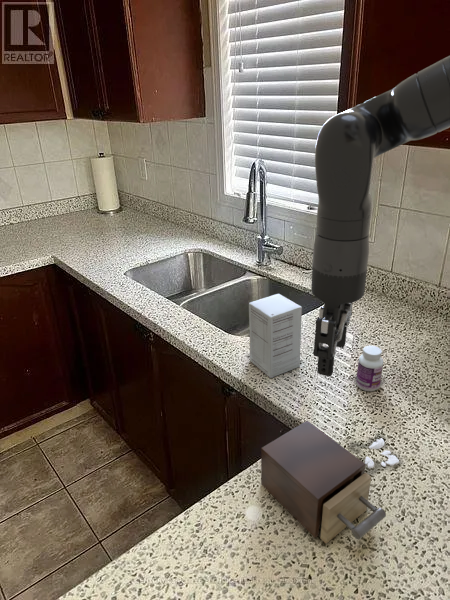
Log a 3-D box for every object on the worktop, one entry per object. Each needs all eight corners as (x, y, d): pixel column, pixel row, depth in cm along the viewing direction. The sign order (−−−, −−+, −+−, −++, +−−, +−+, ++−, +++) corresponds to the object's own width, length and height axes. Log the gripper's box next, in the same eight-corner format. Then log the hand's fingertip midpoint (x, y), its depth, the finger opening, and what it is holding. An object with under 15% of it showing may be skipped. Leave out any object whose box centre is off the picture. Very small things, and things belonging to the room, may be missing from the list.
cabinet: (359, 506, 75) (365, 463, 70) (314, 543, 69) (318, 499, 65) (304, 460, 84) (307, 420, 80) (260, 489, 79) (261, 447, 74)
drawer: (389, 530, 70) (396, 495, 66) (348, 567, 65) (353, 531, 61) (314, 467, 81) (316, 434, 78) (274, 494, 76) (275, 461, 73)
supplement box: (301, 367, 111) (303, 306, 103) (270, 379, 107) (271, 317, 99) (277, 349, 118) (278, 292, 111) (248, 360, 114) (247, 301, 107)
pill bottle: (375, 395, 100) (381, 359, 96) (352, 387, 103) (356, 352, 99) (382, 382, 104) (387, 347, 100) (360, 375, 107) (364, 341, 102)
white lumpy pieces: (380, 442, 88) (381, 434, 87) (403, 467, 82) (405, 460, 81) (347, 451, 86) (348, 444, 85) (368, 478, 80) (369, 471, 79)
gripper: (356, 287, 56) (346, 391, 63) (375, 250, 67) (364, 341, 74) (298, 279, 59) (294, 379, 66) (326, 244, 70) (320, 333, 77)
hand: (331, 359), depth 70 cm, fingers open, 8 cm apart
